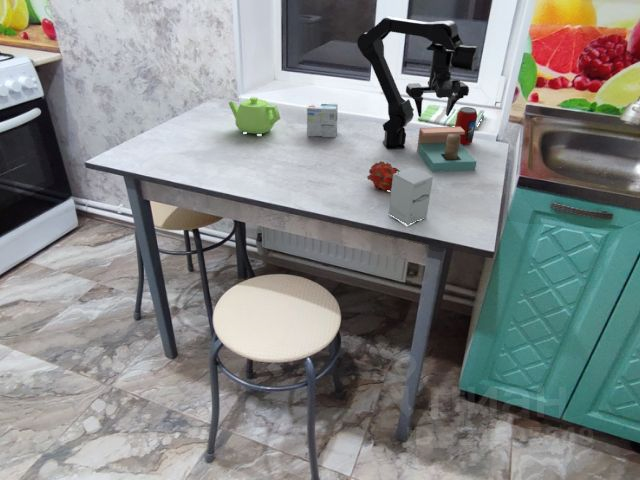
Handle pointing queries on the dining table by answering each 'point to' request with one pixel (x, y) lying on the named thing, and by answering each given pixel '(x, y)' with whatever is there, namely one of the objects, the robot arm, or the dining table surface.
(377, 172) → the dragon fruit
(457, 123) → the beverage can
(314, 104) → the light bulb box
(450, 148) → the walnut peg
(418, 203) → the supplement box
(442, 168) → the socket plate
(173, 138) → the dining table surface
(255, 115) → the teapot
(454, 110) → the dish towel
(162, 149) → the dining table surface
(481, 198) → the dining table surface
